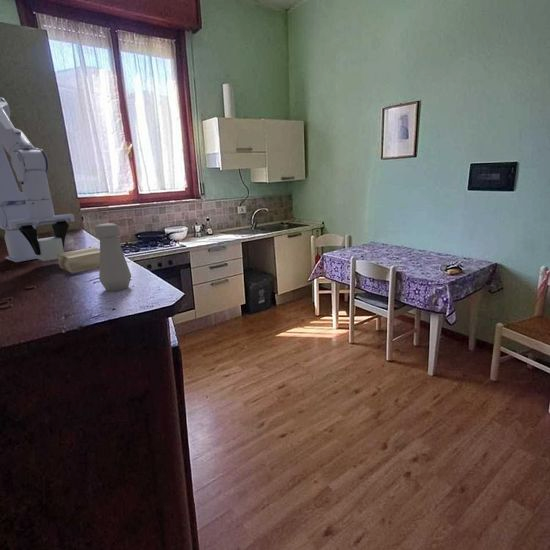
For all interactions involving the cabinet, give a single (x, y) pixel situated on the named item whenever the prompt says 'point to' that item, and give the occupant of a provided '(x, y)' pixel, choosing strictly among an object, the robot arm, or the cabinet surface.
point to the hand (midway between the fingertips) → (50, 252)
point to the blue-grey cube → (50, 248)
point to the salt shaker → (112, 259)
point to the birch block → (80, 259)
